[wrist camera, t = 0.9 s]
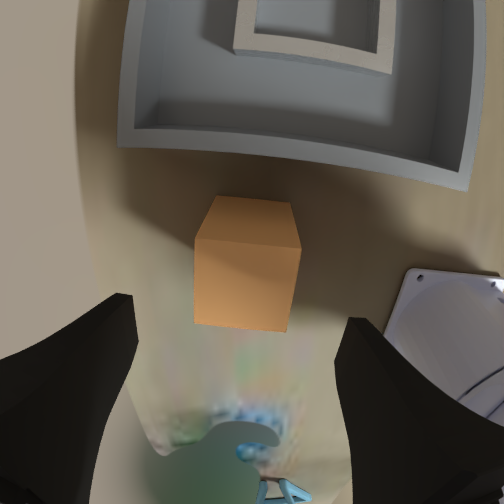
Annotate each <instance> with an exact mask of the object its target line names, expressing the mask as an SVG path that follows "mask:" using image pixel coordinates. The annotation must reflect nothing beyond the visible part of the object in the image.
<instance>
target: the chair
mask: <svg viewBox="0 0 504 504" xmlns="http://www.w3.org/2000/svg"><path fill="white" fill-rule="evenodd" d="M279 484H280V489H281V491H282V493H283V495H284V497H285V498H283V499H272V500H265V496H266V493H267V482H265V481H260V482H259V491H258V494H257V498H256V503H255V504H295V503H300V502H307V501H311V500H312V499H311V495H310V494H309V493H307V492H305V491H304V490H302V489H300V488H298V487H296V486H295V485H293V484H291V483H290V482H289V481H287V480H286V479H281V480H280V481H279ZM290 493H291V494H293V495H295V496H297V497H293V498H292V496H291V494H290Z"/></svg>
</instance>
